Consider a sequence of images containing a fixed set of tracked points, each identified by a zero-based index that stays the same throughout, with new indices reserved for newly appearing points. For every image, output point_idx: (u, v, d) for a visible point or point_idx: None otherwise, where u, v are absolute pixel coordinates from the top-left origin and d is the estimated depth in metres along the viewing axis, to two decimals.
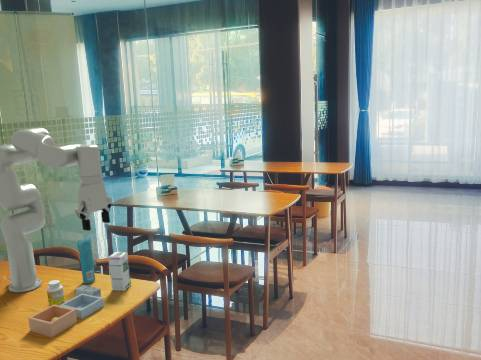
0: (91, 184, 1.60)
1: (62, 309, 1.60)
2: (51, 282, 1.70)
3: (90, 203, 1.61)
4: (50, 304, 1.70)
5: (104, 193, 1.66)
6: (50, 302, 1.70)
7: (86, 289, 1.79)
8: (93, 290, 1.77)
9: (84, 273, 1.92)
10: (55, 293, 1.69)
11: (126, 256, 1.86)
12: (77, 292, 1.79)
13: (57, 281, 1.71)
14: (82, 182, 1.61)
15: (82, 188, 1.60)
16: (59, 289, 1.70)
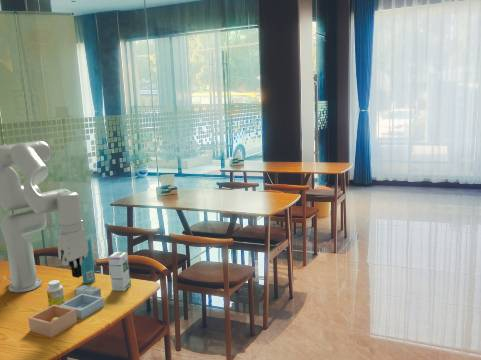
0: (70, 233, 1.58)
1: (62, 309, 1.60)
2: (51, 282, 1.70)
3: (69, 252, 1.58)
4: (50, 304, 1.70)
5: (84, 240, 1.64)
6: (50, 302, 1.70)
7: (86, 289, 1.79)
8: (93, 290, 1.77)
9: (84, 273, 1.92)
10: (55, 293, 1.69)
11: (126, 256, 1.86)
12: (77, 292, 1.79)
13: (57, 281, 1.71)
14: (61, 230, 1.59)
15: (62, 237, 1.58)
16: (59, 289, 1.70)
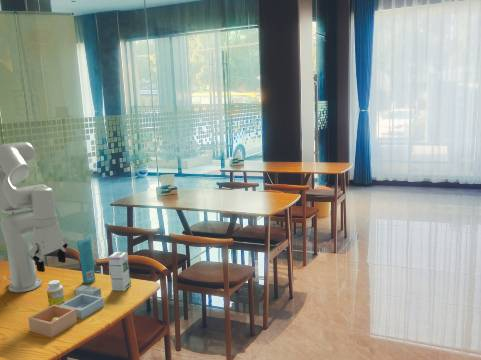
0: (45, 227, 1.63)
1: (62, 309, 1.60)
2: (51, 282, 1.70)
3: (44, 245, 1.63)
4: (50, 304, 1.70)
5: (59, 234, 1.69)
6: (50, 302, 1.70)
7: (86, 289, 1.79)
8: (93, 290, 1.77)
9: (84, 273, 1.92)
10: (55, 293, 1.69)
11: (126, 256, 1.86)
12: (77, 292, 1.79)
13: (57, 281, 1.71)
14: (36, 224, 1.63)
15: (36, 231, 1.63)
16: (59, 289, 1.70)
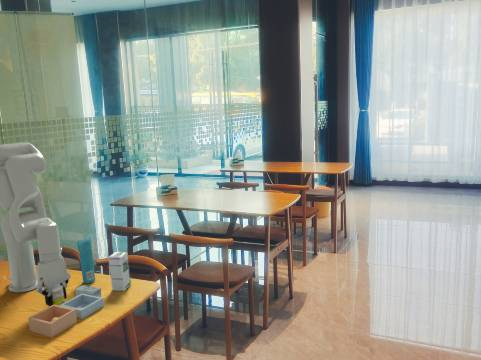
0: (49, 261, 1.65)
1: (62, 309, 1.60)
2: None
3: (48, 279, 1.66)
4: None
5: (63, 267, 1.72)
6: None
7: (86, 289, 1.79)
8: (94, 290, 1.77)
9: (84, 273, 1.92)
10: (55, 293, 1.69)
11: (126, 256, 1.86)
12: (77, 292, 1.79)
13: None
14: (41, 259, 1.66)
15: (41, 266, 1.65)
16: (59, 289, 1.70)
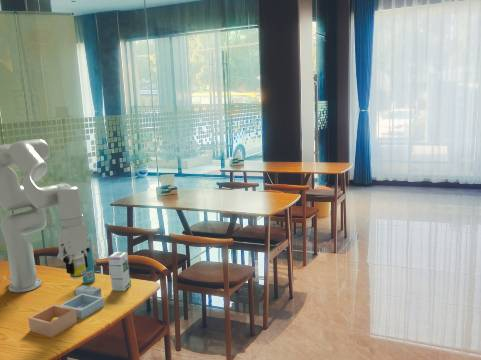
0: (71, 227, 1.58)
1: (62, 309, 1.60)
2: None
3: (70, 246, 1.59)
4: None
5: (85, 234, 1.64)
6: None
7: (86, 289, 1.79)
8: (94, 290, 1.77)
9: None
10: (77, 260, 1.62)
11: (126, 256, 1.86)
12: (77, 292, 1.79)
13: None
14: (62, 224, 1.59)
15: (62, 231, 1.58)
16: (80, 256, 1.62)
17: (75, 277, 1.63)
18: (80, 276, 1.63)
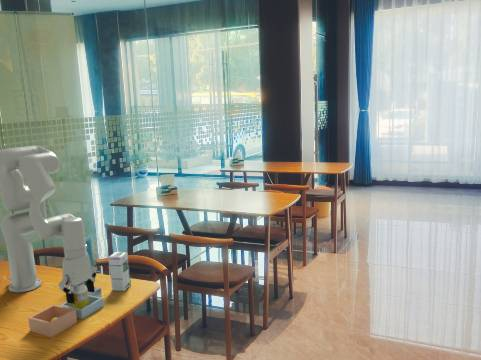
0: (75, 258, 1.60)
1: (62, 309, 1.60)
2: None
3: (74, 277, 1.61)
4: (75, 306, 1.65)
5: (88, 264, 1.66)
6: (75, 304, 1.65)
7: None
8: None
9: None
10: (80, 295, 1.64)
11: (126, 256, 1.86)
12: None
13: (82, 283, 1.66)
14: (66, 256, 1.61)
15: (66, 262, 1.60)
16: (84, 291, 1.65)
17: None
18: None
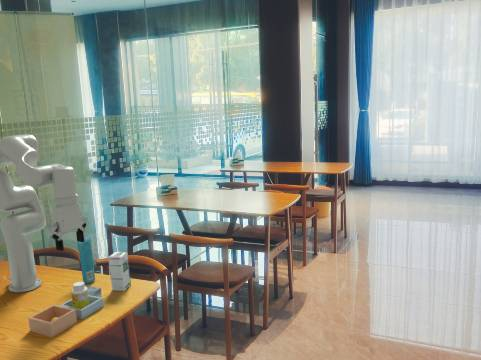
0: (65, 206, 1.63)
1: (62, 309, 1.60)
2: (76, 284, 1.65)
3: (63, 224, 1.63)
4: (75, 306, 1.65)
5: (79, 213, 1.69)
6: (75, 304, 1.65)
7: None
8: (94, 289, 1.77)
9: (84, 273, 1.92)
10: (80, 295, 1.64)
11: (126, 256, 1.86)
12: None
13: (82, 283, 1.66)
14: (56, 203, 1.63)
15: (56, 210, 1.63)
16: (84, 291, 1.65)
17: None
18: None
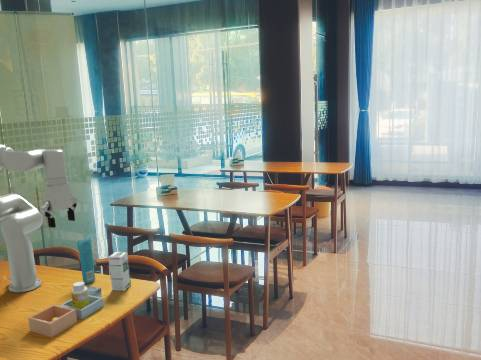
0: (56, 185, 1.75)
1: (62, 309, 1.60)
2: (76, 284, 1.65)
3: (55, 202, 1.76)
4: (75, 306, 1.65)
5: (69, 193, 1.81)
6: (75, 304, 1.65)
7: None
8: (94, 289, 1.78)
9: (84, 273, 1.92)
10: (80, 295, 1.64)
11: (126, 256, 1.86)
12: None
13: (82, 283, 1.66)
14: (48, 183, 1.76)
15: (48, 189, 1.75)
16: (84, 291, 1.65)
17: None
18: None
